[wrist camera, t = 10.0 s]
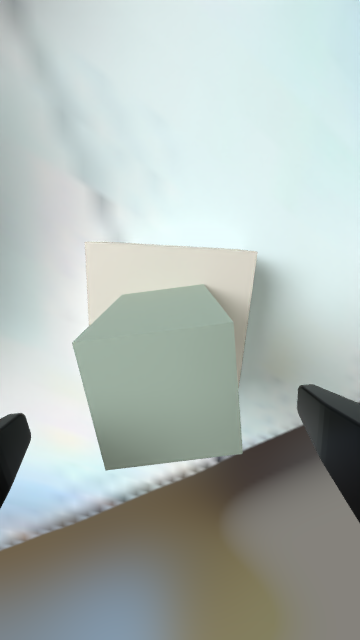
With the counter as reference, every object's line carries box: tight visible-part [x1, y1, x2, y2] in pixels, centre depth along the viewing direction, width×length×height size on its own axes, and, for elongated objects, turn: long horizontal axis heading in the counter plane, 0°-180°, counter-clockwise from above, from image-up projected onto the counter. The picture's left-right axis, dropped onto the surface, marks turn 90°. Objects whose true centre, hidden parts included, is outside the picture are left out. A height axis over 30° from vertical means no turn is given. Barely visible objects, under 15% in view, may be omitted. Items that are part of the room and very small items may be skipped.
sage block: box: [72, 284, 243, 470], centre depth 12 cm, size 5×5×8 cm
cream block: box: [85, 242, 257, 388], centre depth 19 cm, size 10×10×5 cm
